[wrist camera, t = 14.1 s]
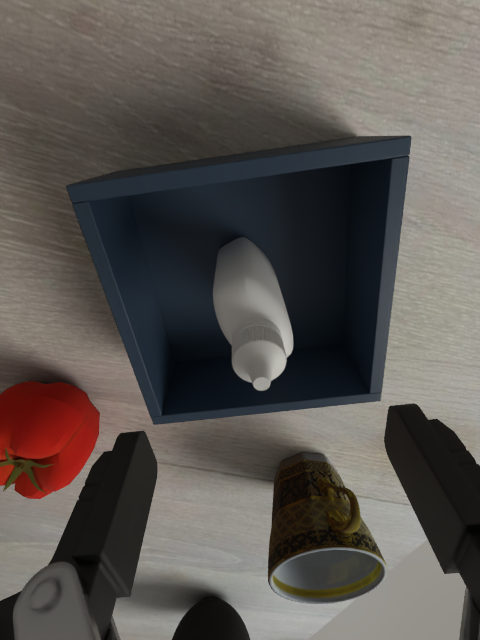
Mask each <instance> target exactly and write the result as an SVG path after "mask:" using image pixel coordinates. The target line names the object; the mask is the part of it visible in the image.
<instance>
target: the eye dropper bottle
mask: <svg viewBox="0 0 480 640" xmlns="http://www.w3.org/2000/svg"><path fill="white" fill-rule="evenodd" d="M213 302H214V308H215V313H216V316H217V320H218V322H219V325H220V327H221V330H222V332H223V333H224V335H225V337H226V339H227V340H228V342H229V343H230V344H231V345H232V366H233V370H235V372H236V374H237V375H238V376H239V377H240V378H241V379H243V380H246V381H248V382H251V383H252V384H253V386H254V388H255V389H257V390H259V391H263V390H266V389H268V388H269V387H270V384H271V380H273V379H275V378H277V377H278V376H279V375H280V374H281V373H282V372H283V370H284V369H285V366H286V362H287V360H286V359H287V357H288V356H289V355H290V354H291V352H292V350H293V333H292V328H291V324H290V320H289V317H288V313H287V310H286V307H285V303H284V300H283V297H282V293H281V290H280V287H279V284H278V280H277V277H276V274H275V272H274V269H273V267H272V265H271V263H270V262H269V260H268V259H267V257H266V256H265V254H264V253H263V252H262V251H261V250H260V249H259V248H258V247H257V246H256V245H255V244H254V243H253V242H251V241H250V240H248V239H247V238H244V237H240V238H237V239H235V240H233V241H232V242H230V243H228V244H226V245H225V246H223V247H222V248H221V249H220V250H219V251H218V256H217V263H216V270H215V278H214V286H213Z"/></svg>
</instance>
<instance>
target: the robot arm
mask: <svg viewBox="0 0 480 640" xmlns="http://www.w3.org/2000/svg"><path fill="white" fill-rule="evenodd" d="M384 442H385V448H386V452H387V455H388V457H389V460H390V462H391V464H392V466H393V468H394V470H395V472H396V474H397V476H398V478H399V480H400V482H401V484H402V487H403V489H404V491H405V493H406V495H407V497H408V499H409V501H410V503H411V505H412V507H413V509H414V511H415V514H416V516H417V518H418V520H419V522H420V524H421V526H422V528H423V530H424V532H425V534H426V536H427V538H428V541H429V543H430V545H431V547H432V549H433V551H434V553H435V555H436V557H437V559H438V561H439V563H440V566H441V568H442V570H443V572H444V574H449V573H460V575H461V577H462V579H463V580H464V583H465V585H466V590H465V596H464V604H463V613H462V621H461V629H460V638H459V640H480V466H479V465H478V464H476V461H475V459H474V458H473V457H472V455H471V454H470V453H469V451H467V450H466V447H465V446H464V444H463V443H462V442H461V440H460V439H459V438H458V436H457V435H456V434H455V432H454V431H452V430H451V429H450V428H448V427H447V426H446V425H444V424H443V423H442V422H440V421H439V420H438V419H432V420H428V419H427V418H426V416H425V415H424V413H423V412H422V410H421V409H420V407H419V406H418V405H416V404H405V405H395V406H390V407H389V409H388V415H387V422H386V429H385V437H384ZM156 480H157V461H156V458H155V455H154V453H153V450H152V448H151V445H150V443H149V440H148V438H147V435H146V433H145V432H144V431H136V432H127V433H120V434H119V435H118V437H117V439H116V442H115V445H114V447H113V450H112V451H107V452H104V453H103V454H102V455H101V456H100V457H99V459H98V460H97V461H96V462H95V463H94V465H93V466H92V468H91V470H90V472H89V475H88V477H87V479H86V482H85V486H83V489H82V491H81V493H80V495H79V500H78V501H77V502H76V505H75V507H74V509H73V512H72V514H71V516H70V519H69V521H68V523H67V526H66V528H65V530H64V533H63V535H62V537H61V540H60V542H59V544H58V547H57V549H56V551H55V554H54V556H53V558H52V560H51V561H50V563H49V565H48V566H46V567H44V568H43V569H41V570H40V571H39V572H38V573H36V574H35V575H34V576H33V577H32V578H31V579H30V580H29V582H28V583H27V584H26V585H25V587H24V588H23V590H22V591H20V592H18V593H16V594H15V595H12V596H10V597H8V598H6V599H3V600H1V601H0V640H120V637H119V634H118V631H117V628H116V625H115V622H114V619H113V616H112V614H113V610H114V606H115V602H116V598H119V597H130V595H131V591H132V586H133V582H134V577H135V573H136V569H137V564H138V560H139V555H140V551H141V546H142V542H143V537H144V533H145V529H146V524H147V520H148V515H149V511H150V506H151V502H152V497H153V493H154V489H155V484H156Z"/></svg>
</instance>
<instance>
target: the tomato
mask: <svg viewBox="0 0 480 640" xmlns="http://www.w3.org/2000/svg"><path fill="white" fill-rule="evenodd" d="M99 415H100V413H99V411H98V410H97V409H96V408H95V406H94V405H93V404H92V403H91V402H90V400H89V398H88V396H87V394H86V393H85V392H84V391H82V390H81V389H79V388H77V387H75V386H73V385H69V384H66V383H63V382H59V383H51V384H42V383H39V382H34V381H28V382H23V383H19V384H16V385H14V386H12V387H10V388H8V389H6V390H5V391H4V392H2V393H1V394H0V486H1V485H5V488H4V490H5V489H7V488H8V487H9V486H10V485H11V484H14V483H15V491H16V492H18V493H19V494H21V495H22V496H24V497H26V498H31V499H41V498H43V497H44V496H46V495H48V494H50V493H51V492H53V491H57V490H59V489H61V488H63V487H65V486H67V485H69V484H70V483H71V482H72V481H73V479H74V478H75V477H76V476H77V475H78V474H79V473H80V471H81V470H82V468H83V466H84V465H85V463H86V462H87V460H88V458H89V457H90V455H91V453H92V451H93V449H94V447H95V444H96V441H97V438H98V435H99ZM4 490H3V491H4Z"/></svg>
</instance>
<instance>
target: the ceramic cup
mask: <svg viewBox="0 0 480 640" xmlns="http://www.w3.org/2000/svg"><path fill="white" fill-rule="evenodd" d="M386 574H387V566H386V563H385V561H384V559H383V557H382V555H381V552H380V550H379V548H378V546H377V544H376V542H375V541H374V539H373V537H372V535H371V533H370V531H369V529H368V527H367V526H366V524H365V523H364V521H363V520H362V518H361V516H360V509H359V505H358V501H357V498H356V496H355V494H354V493H353V492H352V491H351V490H349V489H347V488H345V486H344V484H343V482H342V479H341V477H340V476H339V474H338V472H337V470H336V469H335V467H334V466H333V465H332V464H331V462H330V461H329V460H328V459H327V458H326V457H325V455H321V454H313V453H305V452H302V453H300V454H297V455H295V456H293V457H290V458H288V459H286V460H284V461H282V462H281V464H280V466H279V468H278V471H277V473H276V476H275V478H274V494H273V510H272V528H271V535H270V543H269V558H268V582H269V585H270V587H271V589H272V590H273V591H274V592H275V593H277V594H278V595H279V596H281V597H283V598H285V599H288V600H291V601H295V602H300V603H308V604H329V603H337V602H342V601H347V600H351V599H354V598H357V597H360V596H362V595H364V594H366V593H369V592H370V591H372V590H374V589H375V588H376V587H377V586H379V585H380V584H381V583H382V582H383V580H384V578H385V577H386Z"/></svg>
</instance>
